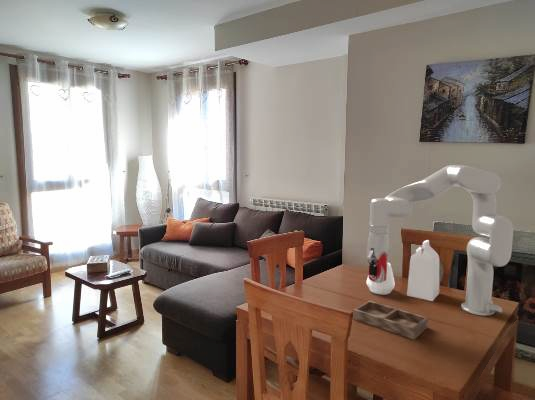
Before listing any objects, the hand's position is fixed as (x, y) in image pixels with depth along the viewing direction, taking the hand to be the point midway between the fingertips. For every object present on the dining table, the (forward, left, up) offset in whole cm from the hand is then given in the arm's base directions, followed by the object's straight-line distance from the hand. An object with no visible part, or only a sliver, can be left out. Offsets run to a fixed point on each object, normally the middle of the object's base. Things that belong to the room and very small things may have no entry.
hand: (377, 272), depth 152 cm
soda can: (0, 0, -3) cm, 3 cm away
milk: (-4, -40, -20) cm, 45 cm away
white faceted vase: (+13, -30, -20) cm, 38 cm away
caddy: (-6, 0, -19) cm, 20 cm away
